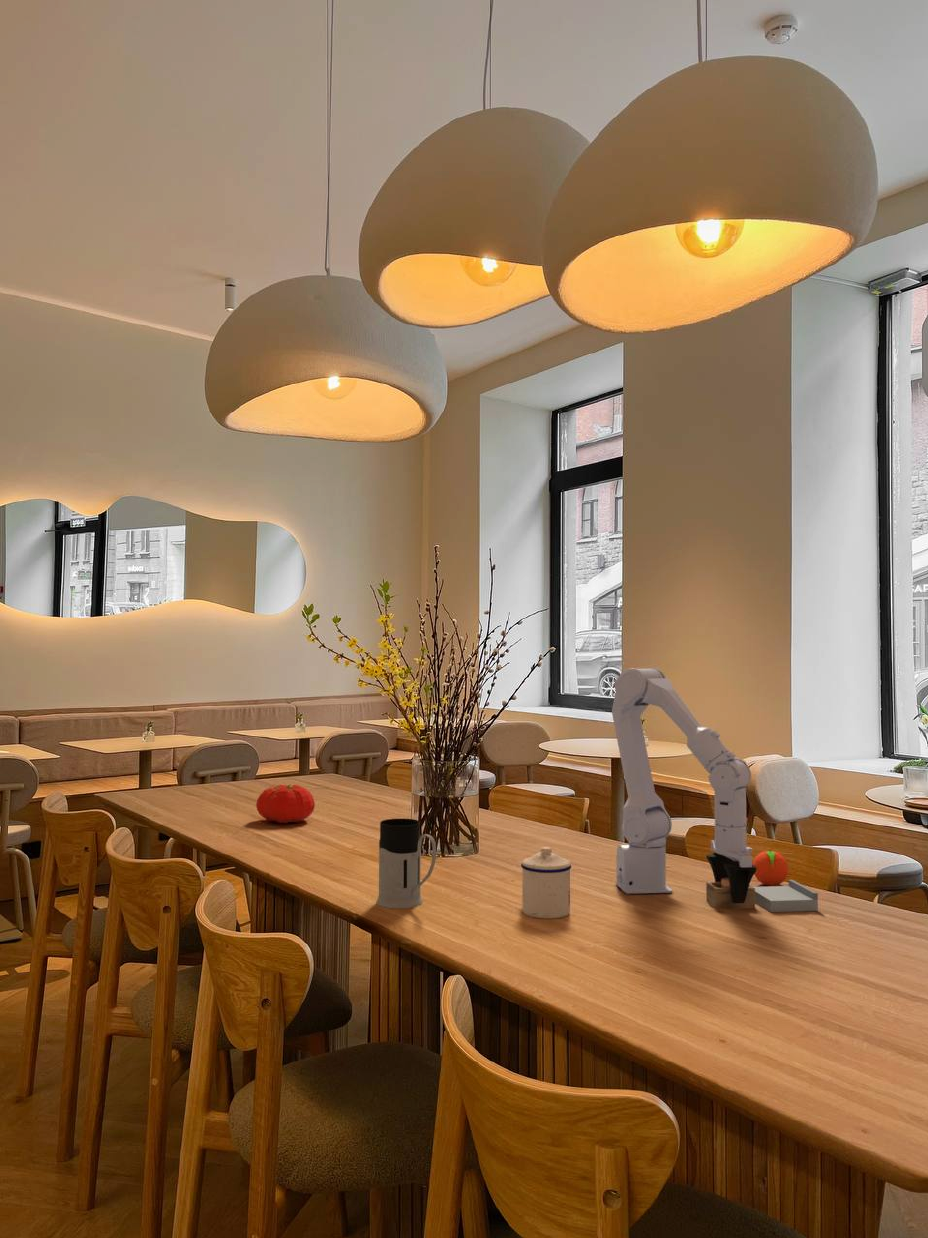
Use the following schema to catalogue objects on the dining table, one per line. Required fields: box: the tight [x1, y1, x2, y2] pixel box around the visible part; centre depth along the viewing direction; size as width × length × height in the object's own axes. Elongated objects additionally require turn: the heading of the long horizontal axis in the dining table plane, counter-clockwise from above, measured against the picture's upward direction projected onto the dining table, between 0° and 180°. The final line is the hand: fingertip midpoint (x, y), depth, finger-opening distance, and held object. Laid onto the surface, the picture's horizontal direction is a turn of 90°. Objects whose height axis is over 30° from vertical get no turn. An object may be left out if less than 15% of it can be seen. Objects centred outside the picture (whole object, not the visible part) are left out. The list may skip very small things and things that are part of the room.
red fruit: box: [752, 849, 789, 886], centre depth 185 cm, size 8×7×7 cm
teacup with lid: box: [520, 846, 572, 920], centre depth 167 cm, size 12×9×12 cm
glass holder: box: [375, 818, 437, 910], centre depth 171 cm, size 9×14×15 cm, turn 44°
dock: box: [753, 879, 819, 913], centre depth 172 cm, size 9×10×3 cm
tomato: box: [255, 784, 316, 824], centre depth 254 cm, size 14×16×10 cm
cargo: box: [721, 878, 730, 888], centre depth 171 cm, size 3×3×2 cm
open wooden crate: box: [705, 881, 756, 910], centre depth 171 cm, size 8×5×4 cm, turn 94°
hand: (730, 897), depth 171 cm, fingers open, 6 cm apart
